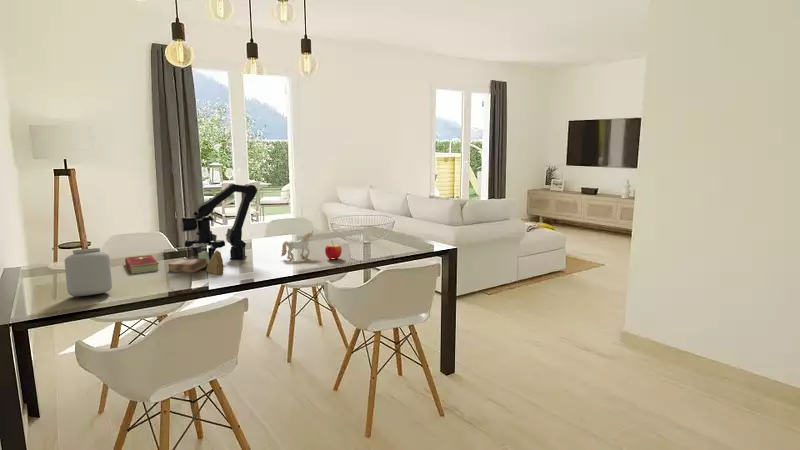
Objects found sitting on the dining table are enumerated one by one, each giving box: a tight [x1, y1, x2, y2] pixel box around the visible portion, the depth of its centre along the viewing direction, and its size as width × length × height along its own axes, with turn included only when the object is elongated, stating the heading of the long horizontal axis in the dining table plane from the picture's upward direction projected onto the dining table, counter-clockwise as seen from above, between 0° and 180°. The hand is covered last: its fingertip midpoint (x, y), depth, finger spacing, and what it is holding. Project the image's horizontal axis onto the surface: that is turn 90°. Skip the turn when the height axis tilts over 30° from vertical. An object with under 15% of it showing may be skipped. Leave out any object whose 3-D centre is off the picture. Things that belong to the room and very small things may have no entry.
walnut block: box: [168, 257, 207, 273], centre depth 234 cm, size 12×12×4 cm
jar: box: [64, 231, 113, 297], centre depth 191 cm, size 19×15×25 cm
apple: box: [324, 240, 343, 261], centre depth 255 cm, size 8×8×10 cm
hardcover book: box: [124, 254, 160, 275], centre depth 236 cm, size 12×21×4 cm, turn 34°
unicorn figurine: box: [280, 230, 314, 261], centre depth 256 cm, size 7×20×13 cm, turn 129°
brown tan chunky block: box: [205, 250, 224, 275], centre depth 227 cm, size 11×9×10 cm
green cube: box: [197, 251, 210, 265], centre depth 246 cm, size 5×5×5 cm
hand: (205, 260), depth 247 cm, fingers closed on green cube, 5 cm apart
